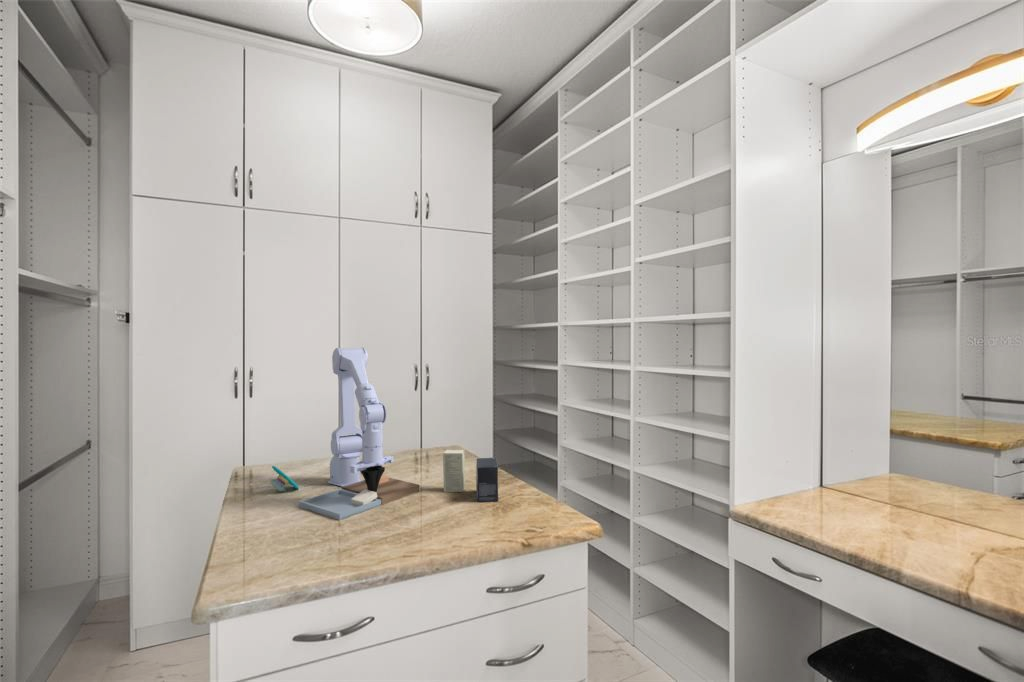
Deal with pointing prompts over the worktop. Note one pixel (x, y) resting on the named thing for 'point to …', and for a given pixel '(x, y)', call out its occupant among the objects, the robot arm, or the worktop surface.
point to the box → (337, 504)
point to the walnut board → (386, 489)
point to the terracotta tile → (384, 479)
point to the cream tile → (364, 497)
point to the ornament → (282, 481)
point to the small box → (487, 480)
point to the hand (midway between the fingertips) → (372, 492)
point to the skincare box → (454, 470)
